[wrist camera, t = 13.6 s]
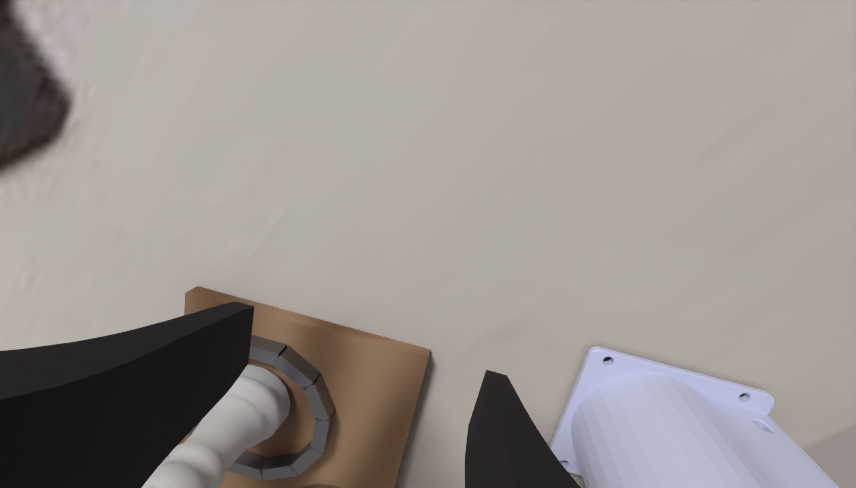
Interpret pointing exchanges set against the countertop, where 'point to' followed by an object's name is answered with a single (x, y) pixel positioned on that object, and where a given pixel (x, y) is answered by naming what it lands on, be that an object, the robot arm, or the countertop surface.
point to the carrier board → (335, 397)
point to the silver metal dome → (320, 486)
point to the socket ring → (317, 400)
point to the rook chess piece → (226, 432)
